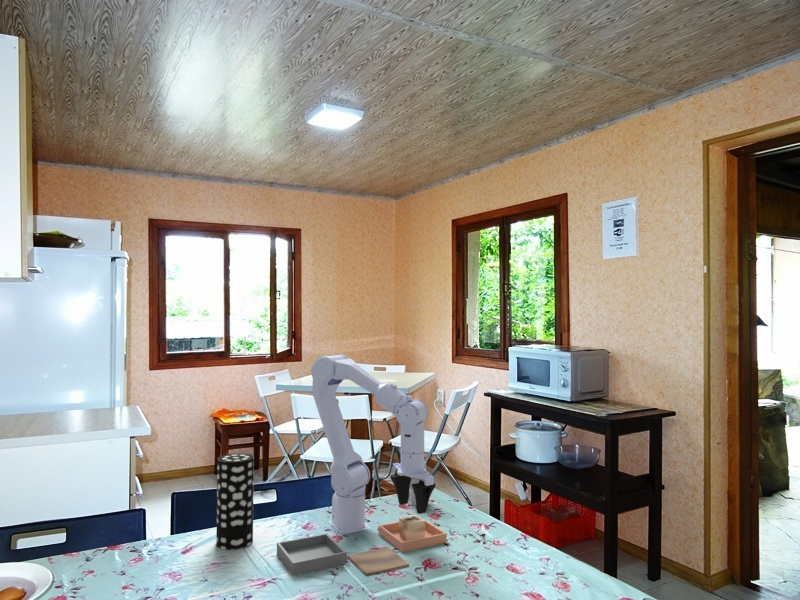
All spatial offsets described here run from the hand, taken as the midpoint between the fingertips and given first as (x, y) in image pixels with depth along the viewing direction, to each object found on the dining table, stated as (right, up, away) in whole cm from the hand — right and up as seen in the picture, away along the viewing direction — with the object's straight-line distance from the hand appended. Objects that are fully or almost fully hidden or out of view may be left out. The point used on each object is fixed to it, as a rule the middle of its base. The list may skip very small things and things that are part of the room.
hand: (412, 508), depth 137 cm
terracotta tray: (0, -8, 0) cm, 8 cm away
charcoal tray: (-23, -7, -11) cm, 26 cm away
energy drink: (+2, -9, +26) cm, 27 cm away
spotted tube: (-42, -8, -2) cm, 43 cm away
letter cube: (0, -7, 0) cm, 7 cm away
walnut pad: (-8, -7, -13) cm, 17 cm away
